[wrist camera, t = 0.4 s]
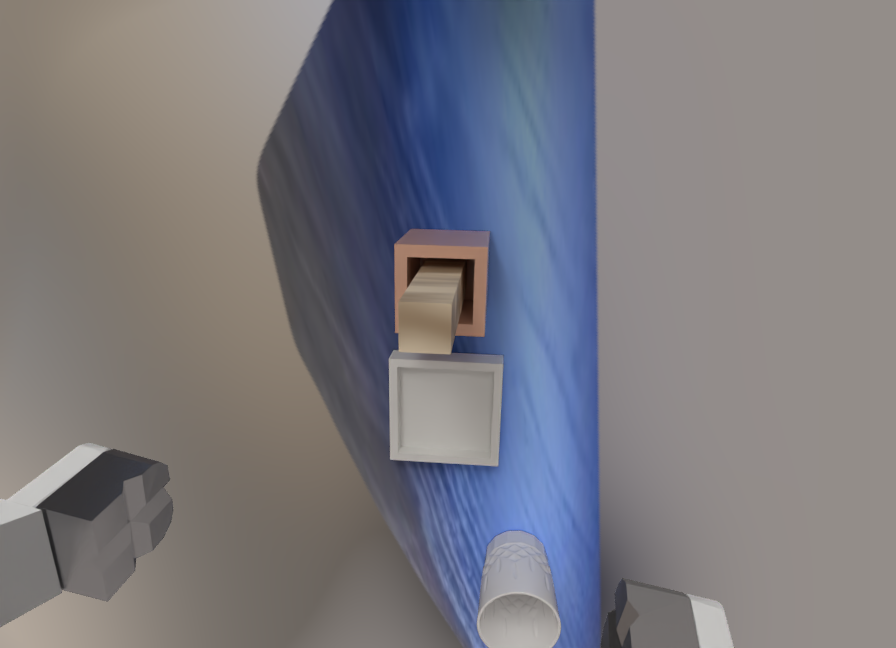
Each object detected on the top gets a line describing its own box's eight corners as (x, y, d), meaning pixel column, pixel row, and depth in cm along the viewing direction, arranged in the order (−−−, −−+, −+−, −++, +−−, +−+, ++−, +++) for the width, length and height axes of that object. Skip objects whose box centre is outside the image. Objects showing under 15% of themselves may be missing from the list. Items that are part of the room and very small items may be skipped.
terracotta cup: (411, 228, 54) (394, 244, 46) (489, 231, 54) (487, 247, 45) (411, 304, 56) (395, 332, 48) (486, 307, 56) (484, 336, 47)
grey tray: (393, 350, 58) (388, 358, 56) (503, 355, 57) (503, 364, 55) (394, 447, 61) (390, 459, 59) (498, 453, 60) (498, 466, 58)
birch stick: (430, 252, 54) (398, 301, 37) (467, 253, 53) (451, 303, 36) (430, 287, 55) (398, 352, 38) (466, 289, 54) (450, 354, 37)
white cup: (566, 558, 63) (578, 631, 54) (513, 596, 66) (515, 672, 56) (518, 511, 62) (521, 577, 53) (465, 551, 64) (459, 622, 55)
